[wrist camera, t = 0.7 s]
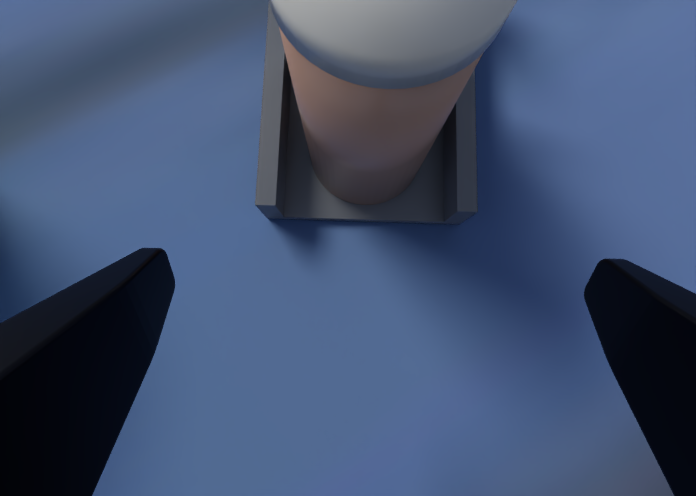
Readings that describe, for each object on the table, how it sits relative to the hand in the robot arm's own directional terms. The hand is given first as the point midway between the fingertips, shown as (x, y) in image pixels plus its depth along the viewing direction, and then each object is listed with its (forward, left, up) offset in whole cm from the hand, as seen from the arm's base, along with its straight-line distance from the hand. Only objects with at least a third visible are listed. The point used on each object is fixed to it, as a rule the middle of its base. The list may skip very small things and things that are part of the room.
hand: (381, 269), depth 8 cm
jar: (+6, -6, -13) cm, 15 cm away
